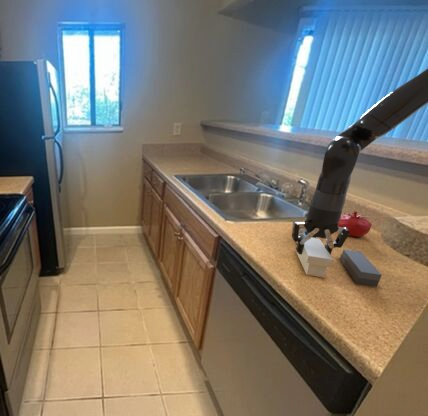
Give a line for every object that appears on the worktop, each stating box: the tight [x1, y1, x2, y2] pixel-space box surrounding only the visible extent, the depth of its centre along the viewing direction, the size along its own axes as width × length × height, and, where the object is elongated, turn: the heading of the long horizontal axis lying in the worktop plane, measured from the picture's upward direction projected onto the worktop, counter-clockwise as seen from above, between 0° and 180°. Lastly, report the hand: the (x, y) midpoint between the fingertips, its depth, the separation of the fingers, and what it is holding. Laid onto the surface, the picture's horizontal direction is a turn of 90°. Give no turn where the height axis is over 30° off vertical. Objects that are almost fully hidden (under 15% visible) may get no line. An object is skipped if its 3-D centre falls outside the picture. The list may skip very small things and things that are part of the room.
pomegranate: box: [338, 210, 373, 238], centre depth 105 cm, size 10×10×9 cm
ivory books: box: [296, 251, 329, 279], centre depth 87 cm, size 4×14×4 cm, turn 157°
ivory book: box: [297, 236, 334, 268], centre depth 86 cm, size 6×14×2 cm, turn 157°
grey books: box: [339, 248, 382, 288], centre depth 83 cm, size 4×14×4 cm, turn 157°
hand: (311, 255), depth 87 cm, fingers closed on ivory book, 6 cm apart
